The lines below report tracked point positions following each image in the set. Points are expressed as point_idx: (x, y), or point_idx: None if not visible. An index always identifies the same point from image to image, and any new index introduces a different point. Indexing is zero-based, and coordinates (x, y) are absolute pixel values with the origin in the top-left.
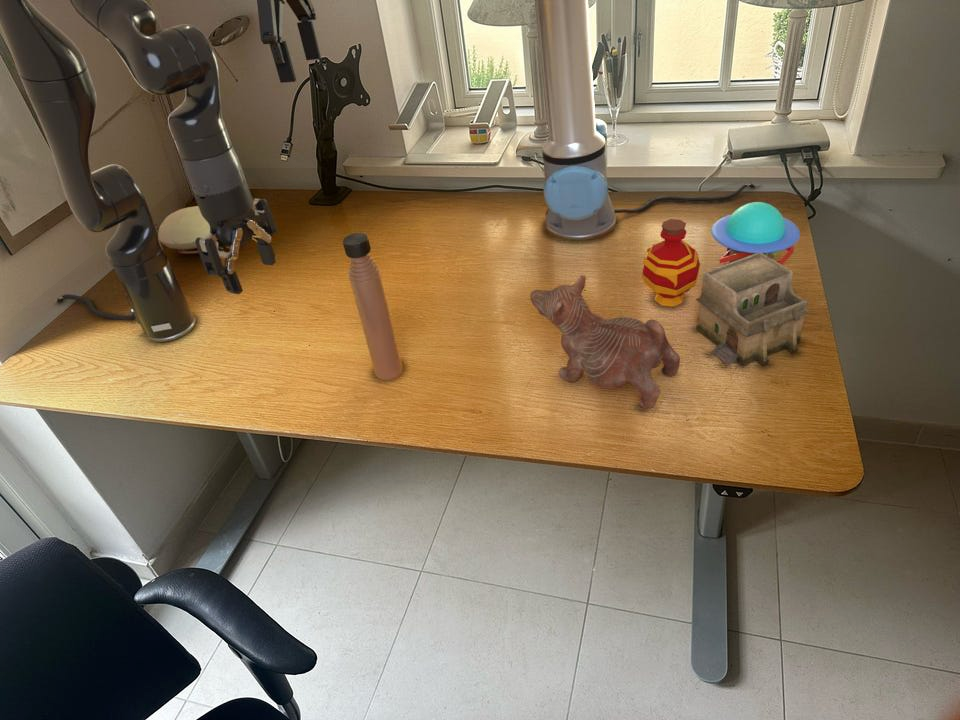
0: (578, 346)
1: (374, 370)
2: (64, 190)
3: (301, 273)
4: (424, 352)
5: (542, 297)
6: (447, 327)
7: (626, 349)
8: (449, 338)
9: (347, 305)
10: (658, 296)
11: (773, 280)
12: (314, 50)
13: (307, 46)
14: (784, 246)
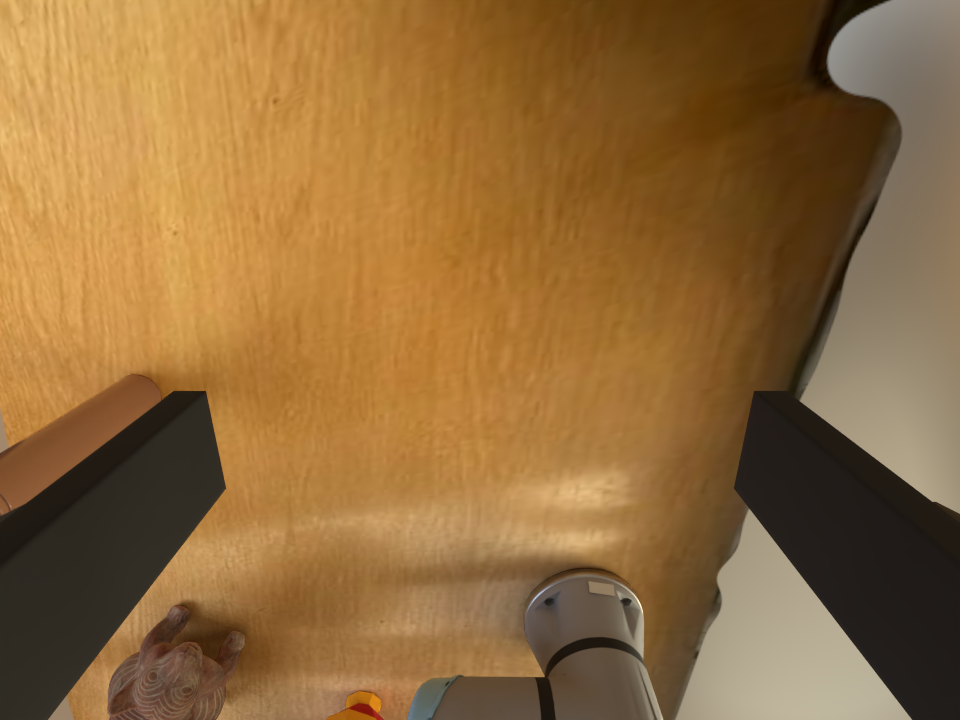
0: (140, 672)
1: (115, 382)
2: None
3: (436, 108)
4: None
5: (167, 673)
6: (266, 458)
7: None
8: (238, 465)
9: (313, 268)
10: (357, 700)
11: None
12: (774, 506)
13: (806, 482)
14: None
